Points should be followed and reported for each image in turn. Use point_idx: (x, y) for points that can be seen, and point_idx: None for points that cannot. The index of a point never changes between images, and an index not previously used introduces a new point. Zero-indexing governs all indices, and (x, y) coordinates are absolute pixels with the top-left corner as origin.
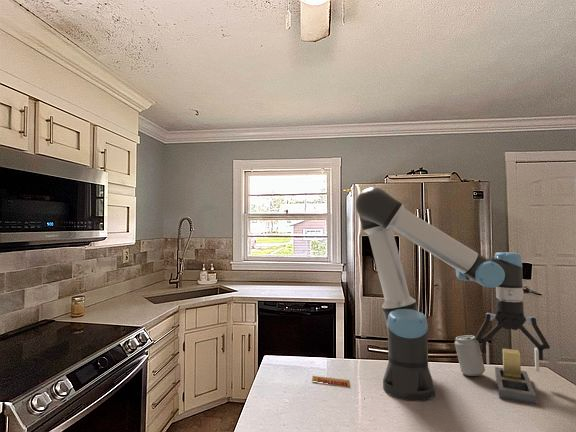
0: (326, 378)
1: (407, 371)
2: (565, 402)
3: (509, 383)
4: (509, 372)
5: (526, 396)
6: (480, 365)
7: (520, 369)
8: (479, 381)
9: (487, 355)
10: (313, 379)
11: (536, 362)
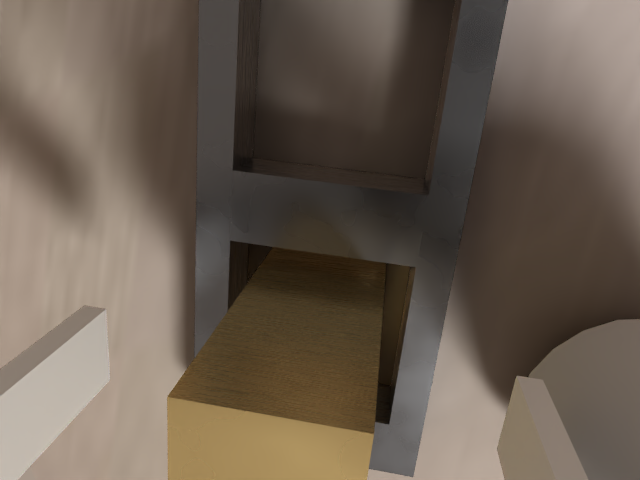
0: None
1: None
2: (30, 44)
3: (366, 182)
4: (338, 299)
5: None
6: (593, 386)
7: (235, 304)
8: (582, 262)
9: (560, 448)
10: None
11: (49, 352)
